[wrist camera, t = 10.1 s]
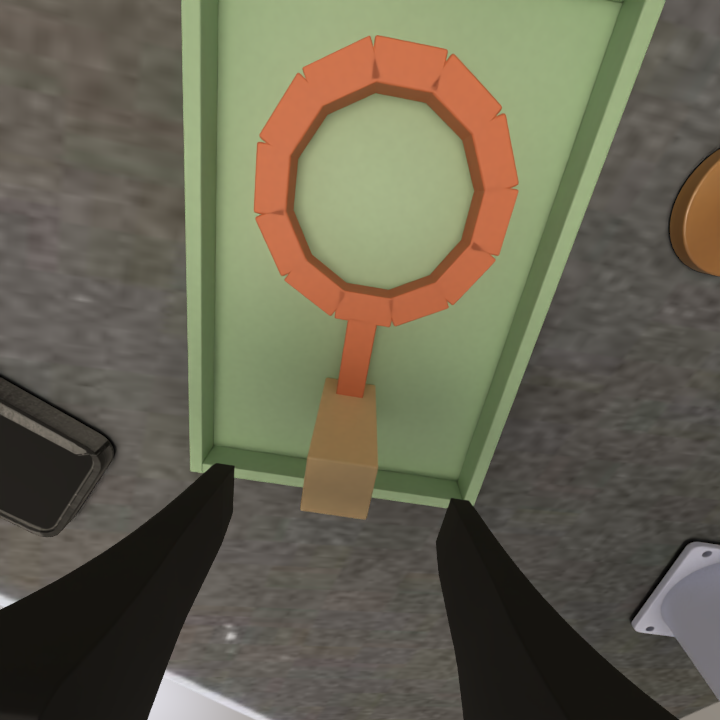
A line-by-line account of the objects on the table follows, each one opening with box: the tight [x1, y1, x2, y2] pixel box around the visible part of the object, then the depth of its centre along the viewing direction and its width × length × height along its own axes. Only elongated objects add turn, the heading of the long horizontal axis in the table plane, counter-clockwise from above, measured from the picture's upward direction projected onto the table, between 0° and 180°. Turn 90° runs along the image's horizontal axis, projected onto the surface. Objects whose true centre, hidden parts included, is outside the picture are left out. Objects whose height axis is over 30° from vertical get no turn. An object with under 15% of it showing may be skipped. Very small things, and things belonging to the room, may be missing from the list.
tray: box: [181, 0, 666, 508], centre depth 16 cm, size 14×21×2 cm
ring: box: [254, 35, 519, 520], centre depth 13 cm, size 9×15×6 cm, turn 171°
